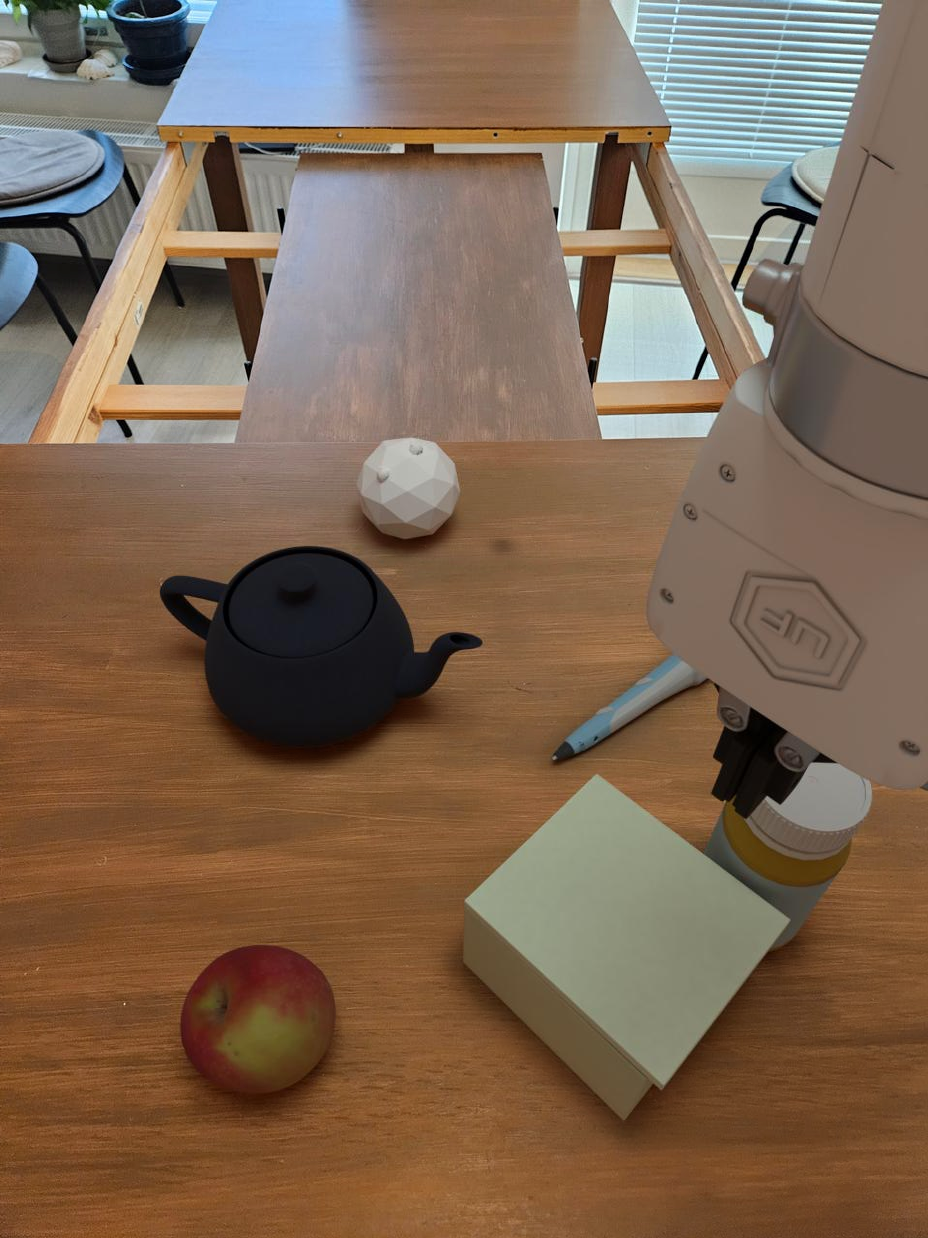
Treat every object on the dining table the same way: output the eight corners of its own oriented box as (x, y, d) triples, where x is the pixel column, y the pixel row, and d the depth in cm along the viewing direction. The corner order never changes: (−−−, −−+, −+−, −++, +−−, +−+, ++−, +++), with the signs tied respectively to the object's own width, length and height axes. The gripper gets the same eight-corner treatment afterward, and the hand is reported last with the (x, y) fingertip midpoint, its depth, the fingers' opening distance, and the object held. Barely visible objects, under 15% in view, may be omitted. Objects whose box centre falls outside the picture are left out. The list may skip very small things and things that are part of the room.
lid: (787, 926, 49) (791, 919, 48) (661, 1091, 43) (663, 1086, 42) (595, 780, 55) (596, 772, 55) (463, 907, 50) (463, 900, 49)
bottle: (763, 980, 55) (843, 866, 44) (668, 906, 58) (719, 782, 47) (818, 901, 58) (904, 777, 47) (725, 835, 61) (785, 704, 50)
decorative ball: (436, 601, 80) (378, 504, 71) (380, 553, 87) (322, 461, 79) (510, 540, 81) (462, 439, 73) (449, 498, 89) (399, 402, 80)
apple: (245, 954, 55) (221, 898, 50) (362, 1007, 53) (351, 953, 48) (174, 1076, 51) (138, 1030, 45) (298, 1139, 49) (278, 1098, 43)
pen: (715, 634, 74) (722, 610, 72) (745, 657, 72) (753, 634, 70) (539, 752, 66) (541, 729, 64) (568, 782, 64) (572, 759, 62)
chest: (739, 972, 55) (772, 919, 49) (623, 1122, 49) (646, 1080, 44) (581, 842, 61) (595, 780, 55) (462, 962, 55) (463, 907, 50)
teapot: (132, 725, 67) (82, 615, 58) (228, 585, 77) (198, 473, 68) (447, 813, 62) (446, 708, 53) (506, 652, 72) (514, 540, 63)
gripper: (597, 319, 23) (543, 729, 37) (1239, 619, 16) (880, 990, 30) (753, 230, 27) (652, 633, 40) (1332, 444, 20) (975, 845, 33)
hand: (749, 784), depth 35 cm, fingers closed
